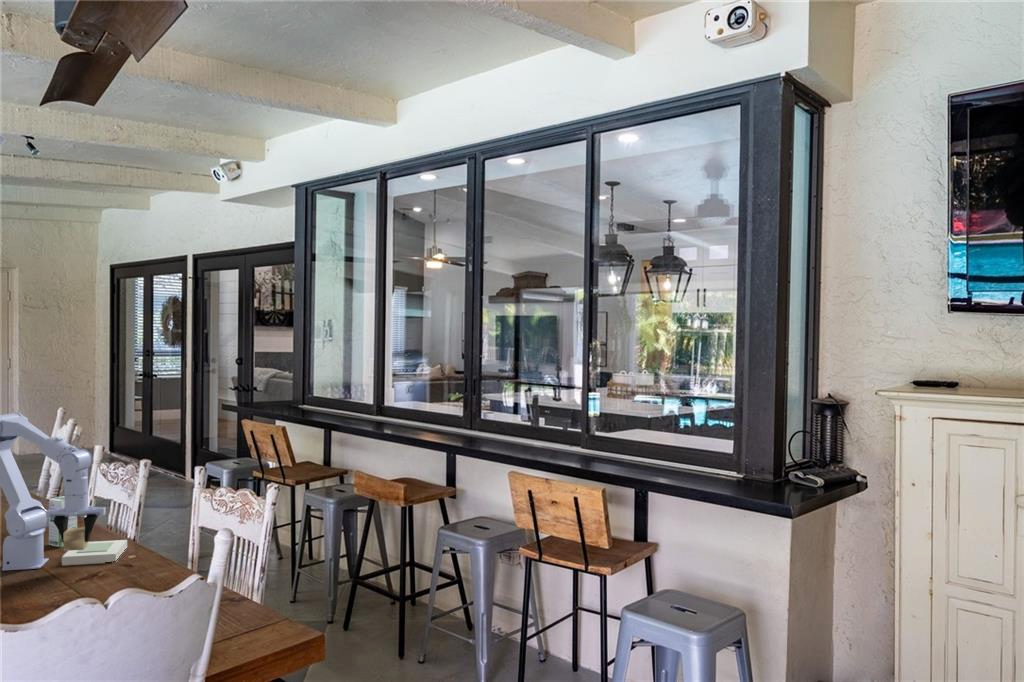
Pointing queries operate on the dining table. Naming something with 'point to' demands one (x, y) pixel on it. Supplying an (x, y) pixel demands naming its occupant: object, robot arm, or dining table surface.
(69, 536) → the birch block
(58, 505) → the syrup box
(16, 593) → the dining table surface
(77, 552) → the base plinth
